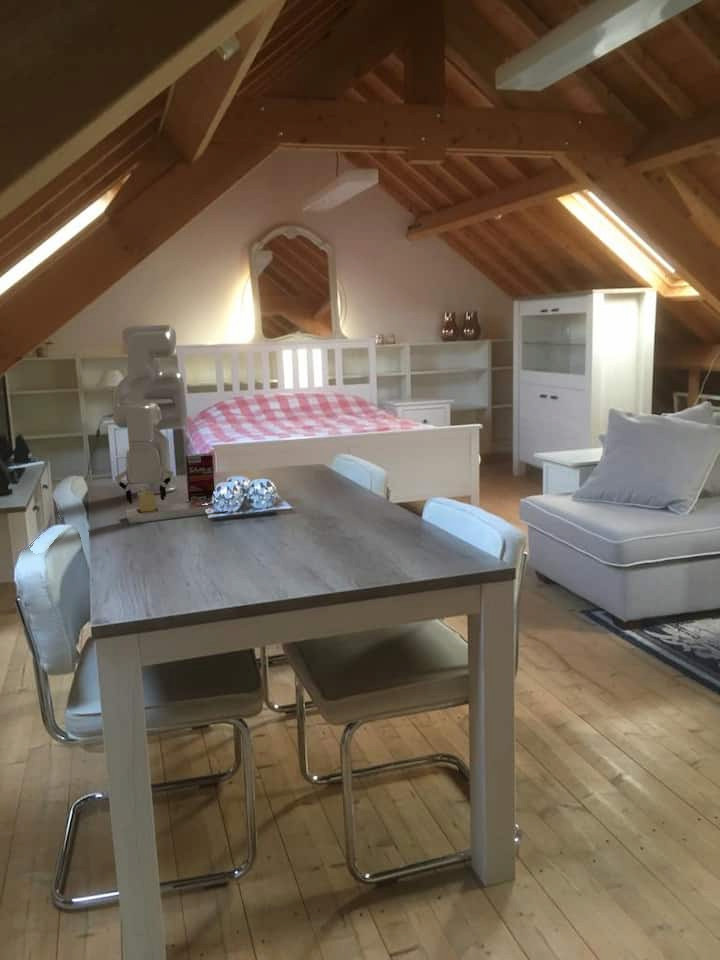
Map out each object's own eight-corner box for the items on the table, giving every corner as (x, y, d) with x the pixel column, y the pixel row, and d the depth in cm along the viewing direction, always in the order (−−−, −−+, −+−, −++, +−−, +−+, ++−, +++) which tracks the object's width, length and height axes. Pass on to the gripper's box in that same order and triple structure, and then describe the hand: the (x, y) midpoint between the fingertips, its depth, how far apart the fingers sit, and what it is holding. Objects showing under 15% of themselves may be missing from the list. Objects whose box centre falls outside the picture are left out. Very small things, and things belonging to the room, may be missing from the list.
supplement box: (190, 504, 268) (186, 456, 265) (188, 501, 272) (184, 454, 269) (216, 501, 270) (212, 454, 267) (214, 498, 275) (210, 452, 272)
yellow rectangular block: (139, 517, 251) (137, 492, 249) (154, 515, 252) (152, 490, 251) (141, 520, 247) (139, 494, 245) (156, 518, 248) (154, 493, 247)
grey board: (126, 517, 252) (125, 509, 251) (221, 506, 263) (221, 498, 262) (130, 523, 243) (129, 514, 243) (228, 511, 254) (227, 503, 254)
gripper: (168, 442, 252) (172, 496, 255) (110, 447, 246) (116, 502, 249) (172, 444, 245) (177, 500, 248) (113, 449, 239) (118, 506, 242)
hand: (146, 501), depth 248 cm, fingers open, 9 cm apart
